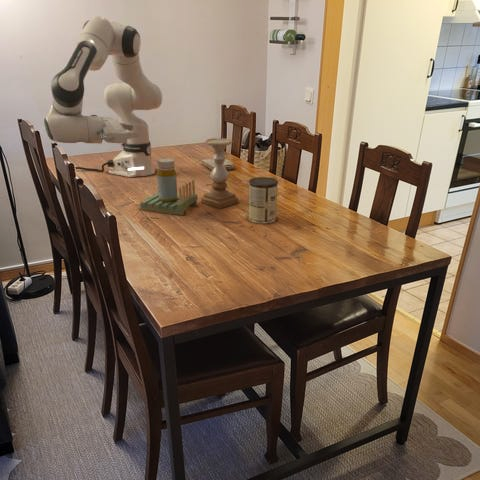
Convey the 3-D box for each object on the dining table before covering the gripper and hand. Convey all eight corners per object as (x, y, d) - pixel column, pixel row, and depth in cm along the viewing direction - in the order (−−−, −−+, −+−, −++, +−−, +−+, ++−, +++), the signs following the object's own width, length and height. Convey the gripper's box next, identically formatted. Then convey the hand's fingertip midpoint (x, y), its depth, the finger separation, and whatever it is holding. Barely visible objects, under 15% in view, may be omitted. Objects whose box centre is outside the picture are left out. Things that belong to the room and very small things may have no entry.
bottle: (179, 197, 189) (176, 158, 181) (175, 202, 183) (172, 162, 175) (161, 196, 190) (158, 157, 182) (157, 202, 184) (154, 162, 176)
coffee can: (253, 213, 183) (254, 175, 176) (279, 216, 180) (281, 178, 173) (244, 221, 175) (245, 183, 168) (271, 225, 172) (273, 186, 165)
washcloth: (213, 172, 234) (213, 165, 232) (200, 164, 248) (200, 157, 246) (235, 169, 238) (236, 163, 237) (221, 161, 252) (221, 155, 250)
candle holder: (200, 202, 193) (198, 140, 181) (219, 196, 200) (218, 136, 188) (219, 208, 187) (218, 144, 175) (238, 202, 194) (239, 140, 182)
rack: (139, 209, 185) (137, 183, 180) (157, 199, 196) (155, 174, 191) (181, 215, 180) (180, 188, 174) (197, 204, 191) (196, 179, 186)
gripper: (99, 128, 157) (141, 129, 162) (91, 113, 172) (129, 114, 177) (100, 148, 160) (141, 148, 166) (92, 131, 176) (129, 132, 181)
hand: (135, 130), depth 172 cm, fingers open, 8 cm apart
